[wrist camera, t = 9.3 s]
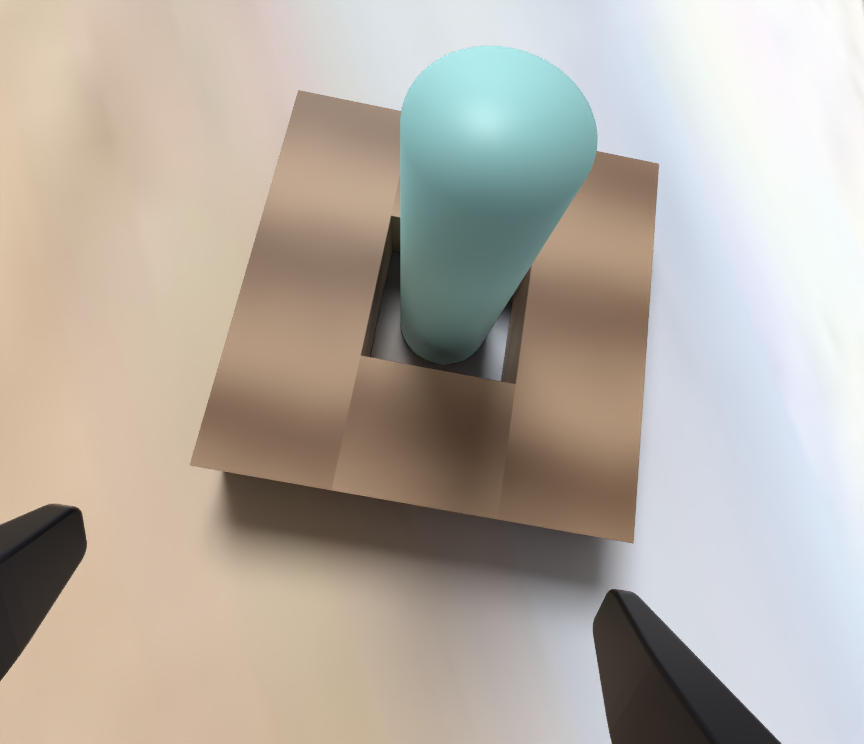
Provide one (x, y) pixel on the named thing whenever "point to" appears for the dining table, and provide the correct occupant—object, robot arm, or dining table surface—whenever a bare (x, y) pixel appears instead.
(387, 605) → the dining table surface
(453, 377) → the socket
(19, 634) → the robot arm
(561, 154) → the peg
